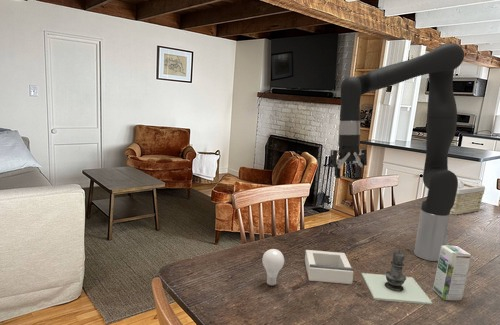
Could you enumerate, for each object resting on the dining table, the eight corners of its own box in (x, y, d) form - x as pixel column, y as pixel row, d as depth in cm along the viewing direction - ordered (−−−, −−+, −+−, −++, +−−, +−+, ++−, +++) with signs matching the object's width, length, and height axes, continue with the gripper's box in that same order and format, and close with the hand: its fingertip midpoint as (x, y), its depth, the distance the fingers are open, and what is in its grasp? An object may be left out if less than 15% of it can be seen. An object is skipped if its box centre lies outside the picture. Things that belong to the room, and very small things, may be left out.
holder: (343, 264, 118) (344, 250, 117) (351, 284, 105) (353, 269, 104) (304, 260, 119) (306, 247, 118) (308, 280, 106) (310, 265, 105)
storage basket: (454, 216, 179) (459, 188, 176) (426, 206, 193) (430, 181, 190) (482, 212, 189) (487, 186, 186) (453, 203, 203) (458, 178, 201)
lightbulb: (284, 282, 104) (287, 247, 102) (279, 292, 98) (282, 256, 96) (264, 277, 106) (266, 243, 104) (257, 287, 100) (260, 252, 98)
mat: (412, 279, 111) (412, 277, 111) (432, 304, 97) (432, 302, 97) (361, 274, 111) (361, 273, 111) (374, 299, 98) (374, 297, 98)
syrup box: (431, 289, 105) (439, 244, 102) (450, 290, 106) (458, 245, 103) (443, 300, 99) (452, 253, 97) (463, 300, 100) (472, 254, 97)
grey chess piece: (406, 293, 101) (412, 255, 99) (385, 290, 102) (391, 252, 100) (402, 283, 106) (407, 246, 104) (382, 280, 108) (387, 243, 105)
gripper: (337, 134, 121) (336, 180, 122) (372, 133, 125) (370, 178, 127) (326, 133, 128) (325, 177, 129) (359, 133, 132) (358, 175, 134)
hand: (348, 177), depth 128 cm, fingers open, 8 cm apart
